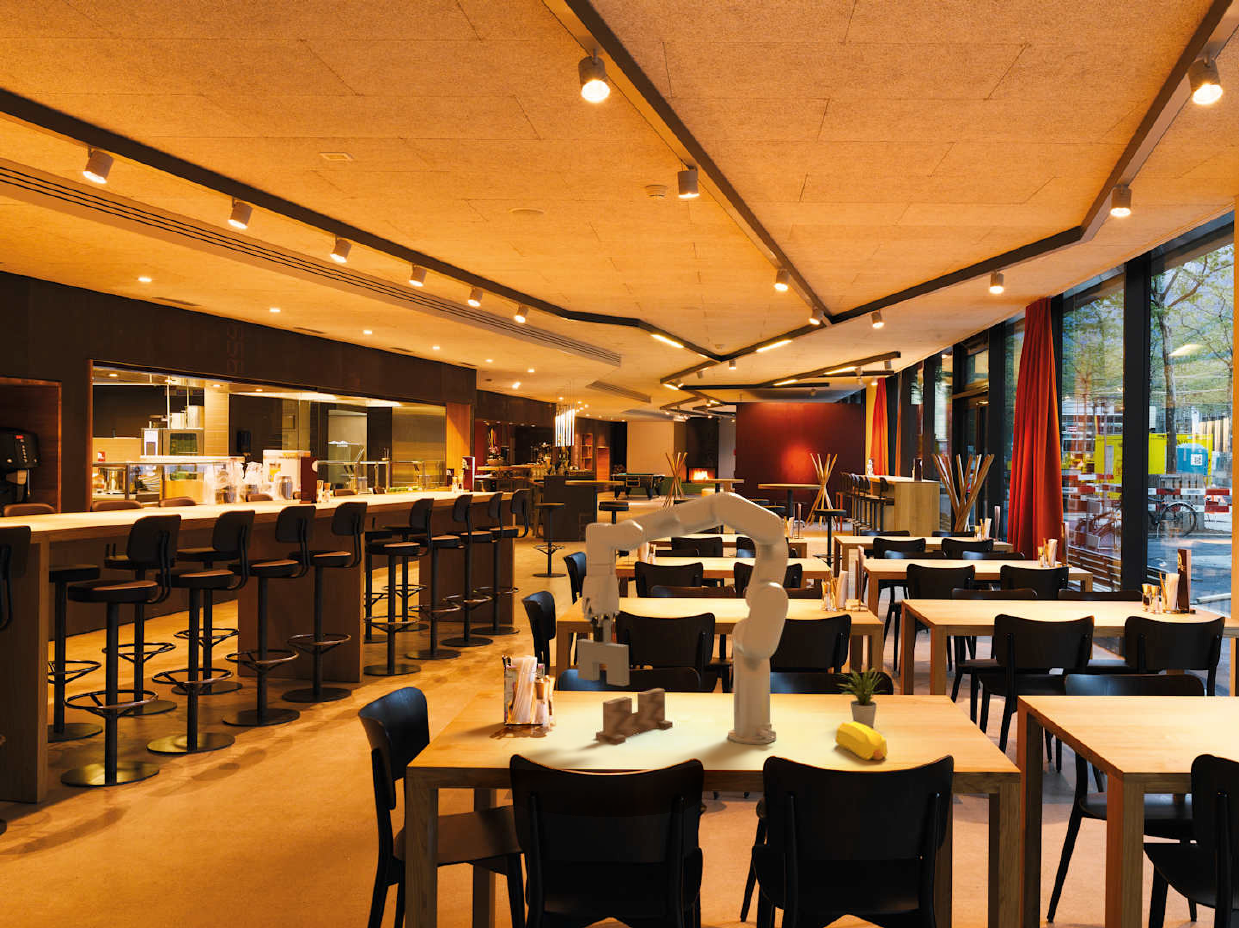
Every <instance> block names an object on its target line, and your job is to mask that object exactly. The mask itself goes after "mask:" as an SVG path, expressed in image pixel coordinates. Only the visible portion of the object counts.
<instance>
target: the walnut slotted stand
mask: <svg viewBox="0 0 1239 928" xmlns="http://www.w3.org/2000/svg"><path fill="white" fill-rule="evenodd" d="M665 695H666V690H665V689H664V688H660V687H657V688H652V689H650V690H649V689H648V690H646V691H642V692H639V693H637V711H635V712H633V698H632V697H630V696H629V697H628V696H622V697H618V698H615V699H611V700H605V701H603V702H602V730H601V731H598V732H597V731H596V732H595V739H597V740H600V739H601V740H600V741H604V740H605V742H607V741H608V743H611V744H616V745H619V744H622V743H623V744H624V743H626V741H627V740H626V739H627V738H628V737H632V736H635V735H638V734H637V733H639V734H641V733H644V732H648V730H649V731H652V730H655V729H658V728H657V727H659V729H661V728H663V729H662V730H669V729H671V728H670V727H672V728H673V726H674V725H673V721H670V720H666V696H665ZM654 728H655V729H654ZM668 728H669V729H668ZM651 729H652V730H651ZM634 734H635V735H634Z"/></svg>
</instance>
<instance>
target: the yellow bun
mask: <svg viewBox="0 0 1239 928" xmlns="http://www.w3.org/2000/svg"><path fill="white" fill-rule="evenodd" d="M835 743H836V744H837V745H838V746H839V747H840V748H842V749H845V750H847V751H850V752H852V753H854V754H855V755H857V756H858V757H859V758H861V759H862V760H864V761H869V760H870V759H871V758H872V759H873V760H876V761H878V760H882V759H885V758H887V757H888V756H887V755H888V746H887V740H886V739H885V737H884V736H883V735H882V734H881V733H879V732H877V731H876V730H874V729H872V728H870V727H868V726H866V725H863V724H860V723H857V722H854V721H852V722H849V723H848V722H841V724H840V725H839V726H838V728H836V735H835Z"/></svg>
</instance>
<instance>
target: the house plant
mask: <svg viewBox="0 0 1239 928" xmlns="http://www.w3.org/2000/svg"><path fill="white" fill-rule="evenodd" d="M847 669H848V670H850V672H851V674H852V675H853V676H852V677H850V676H847V675H845V674H843V673H840V672H838V673H837V674H838V675H840V677H842V678H843V677H844V678H845V679H847V680H848V681H849V682H850V683H849V682H848V683H847V684H844V683H836V685H838V686H841V687H844V688H841V687H840V689H842V690H845V691H843V692H841V695H842V697H844V696H846V695H849V694H850V695H852V697H853V698H855V699H856V700H852V701H850V708H851V713H852V720H853V721H852V722H857V723H860V724H863V725H866V726H868V727H870V728H871V729H872V728H873V727H874V723H875V717H876V711H877V706H878V703H877V702H875V701H874V700H873V699H874V697H875V696H874V695H875V694H877V693H879V692H886V690H884V689H882V690H877V691H874V688H875V687H876V686H877V685H878V684H879V682H880V681H881V680H882V678H880V679H878V678H879V677H880V674H878V675H877V670H876V672H875V673H874V670H875V669H876V668H875V667H873V668H871V669H870V670H869V671H868V672H867V670H868V669H867V667H865V669H864V673H863V676H862V679H861V677H860V675H859V674H858V673H857V671H855V670H854V669H853V670H852V669H851V668H849V667H847ZM873 673H874V674H873ZM872 674H873V677H872ZM841 675H842V676H841ZM876 676H877V677H876ZM847 677H848V678H847ZM871 678H872V679H871ZM851 681H852V682H851ZM847 689H849V690H851V691H847ZM852 691H853V692H852Z"/></svg>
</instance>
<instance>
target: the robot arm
mask: <svg viewBox="0 0 1239 928" xmlns="http://www.w3.org/2000/svg"><path fill="white" fill-rule="evenodd" d="M722 525H723V526H726V527H727V528H730V529H731V530H733V531H736V532H737V533H739V534H741V535H744V536H745V537H747V538H749V539H750V540H752V542H753V544H754V547H755V558H754V564H753V568H752V571H751V576H750V579H749V581H748V582H749V583H748V585H747V589H746V592H745V595H744V596H745V599H744V600H745V603H746V605H747V608H749V611H748V615H747V617H743V618H741V619H740V620H738V622H736V623H735V625H734V626H733V628H732V632H731V648H732V658H733V661H732V662H733V729H730V730H729V731H728V733H727V737H728V739H729V740H731V741H733V742H736V743H741V744H745V745H746V744H747V745H763V744H770V743H773V742H775V740H777V732H776V731H775V730H772V728H773V726H772V723H771V666H770V665H771V664H770V658H771V657H772V656H773V655H774V654H775V652H776V651H777V648H778V647H779V643H780V640H781V636H782V633H783V630H784V627H785V622H786V620H787V619H786V618H787V616H788V615H787V614H788V611H789V596H788V593H787V591H786V590H785V588H784V587H783V585H784V581H785V576H786V571H787V567H788V563H789V547H788V542H787V539H786V536H785V534H784V533H785V523H784V521H783V520H782V518H781V517H780V516H779V515H778V514H776V513H774V512H773V511H770V510H768V509H766V508H764V507H762V506H760V505H758V504H755V503H754V502H752V501H750V500H748V499H746V498H744V497H742V496H741V495H739V494H736V493H734V492H730V491H720V492H719V491H718V492H715V493H711V494H709V495H705V496H702V497H699V498H695V499H692V500H688V501H685V502H681V503H678V504H674V505H670V506H667V507H665V508H663V509H659V510H656V511H653V512H648V513H646V514H645V513H644V514H642V515H637V516H635V517H632V518H631V517H630V518H628V519H625V520H622V521H620V522H618V523H615V524H613V523H609V522H592V523H589V524H587V525H586V527H585V551H586V552H585V553H586V554H585V555H586V556H585V557H586V561H585V562H586V565H585V566H586V576H584V579H583V583H582V593H581V594H582V596H581V611H582V613H583V619H584V620H586V621H588V622H589V624H590V626H591V627H592V640H593V641H595V642H603V627H601V622H602V619H607V620H611V641H612V639H613V638H612V637H613V633H612V632H613V631H612V629H613V627H612V625H613V624H614V620H615V619H616V617H617V616H618V615H619V614H620V612H621V611H620V591H619V582H618V576H617V574H616V569H617V565H616V551H617V550H618V551H624V552H625V551H626V552H629V551H630V552H632V551H633V552H634V551H636V550H638V549H640V548H641V547H642V546H643V544H646V543H649V542H652V541H656V540H661V539H665V538H680V537H686V536H690V535H692V534H696V533H700V532H702V531H705V530H709V529H712V528H713V529H714V528H716V527H719V526H722Z"/></svg>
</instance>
